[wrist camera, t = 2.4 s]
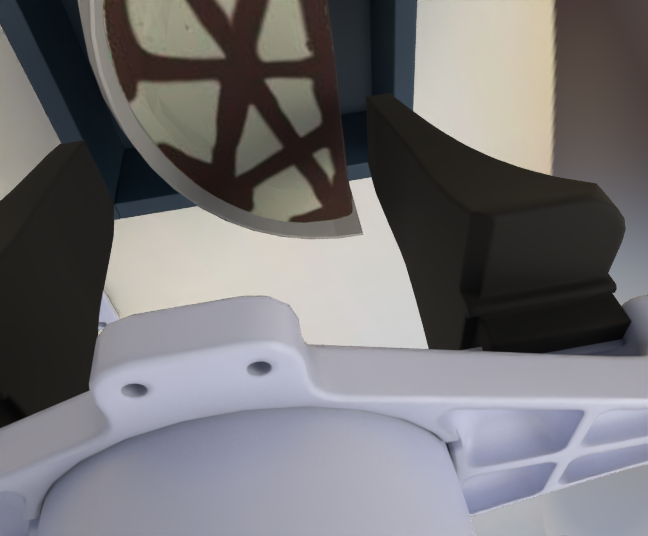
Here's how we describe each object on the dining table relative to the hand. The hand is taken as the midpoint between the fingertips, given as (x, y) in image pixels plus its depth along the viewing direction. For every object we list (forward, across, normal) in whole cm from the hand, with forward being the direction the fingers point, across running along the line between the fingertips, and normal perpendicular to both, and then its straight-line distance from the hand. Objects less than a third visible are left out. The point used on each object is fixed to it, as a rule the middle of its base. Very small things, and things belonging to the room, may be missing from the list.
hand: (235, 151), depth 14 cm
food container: (+10, 0, -2) cm, 10 cm away
